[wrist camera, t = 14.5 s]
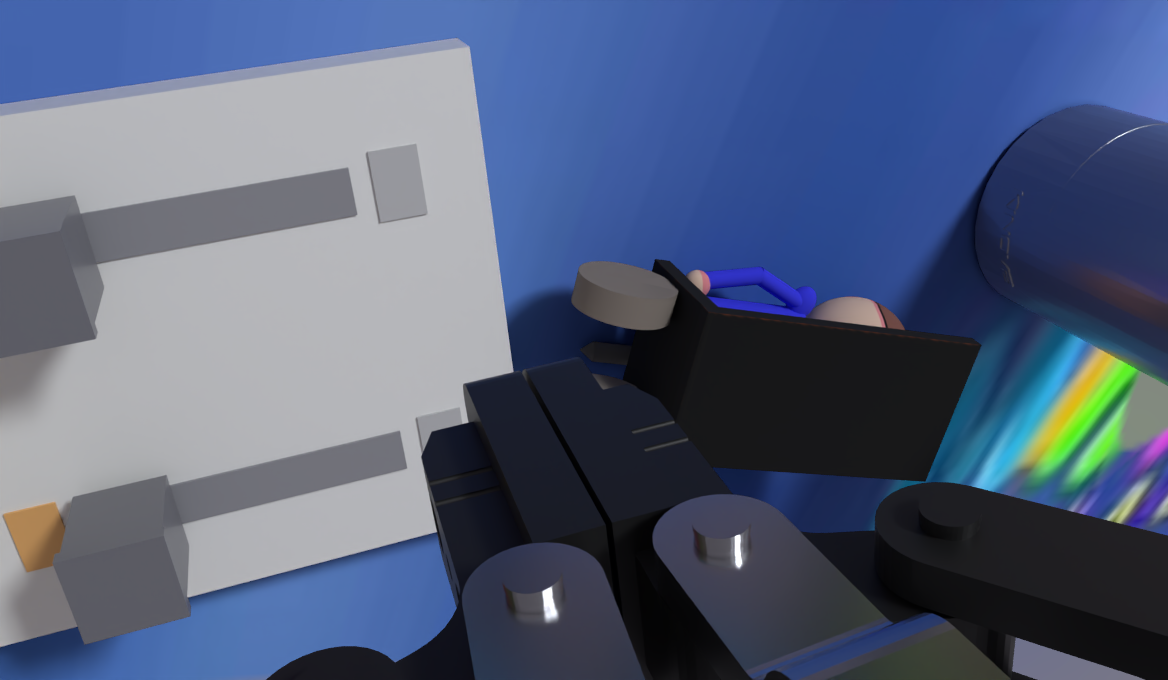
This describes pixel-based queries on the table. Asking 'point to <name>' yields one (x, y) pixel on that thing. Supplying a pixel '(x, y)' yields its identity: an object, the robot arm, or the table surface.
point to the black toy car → (779, 371)
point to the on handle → (124, 560)
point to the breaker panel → (254, 311)
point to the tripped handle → (46, 277)
